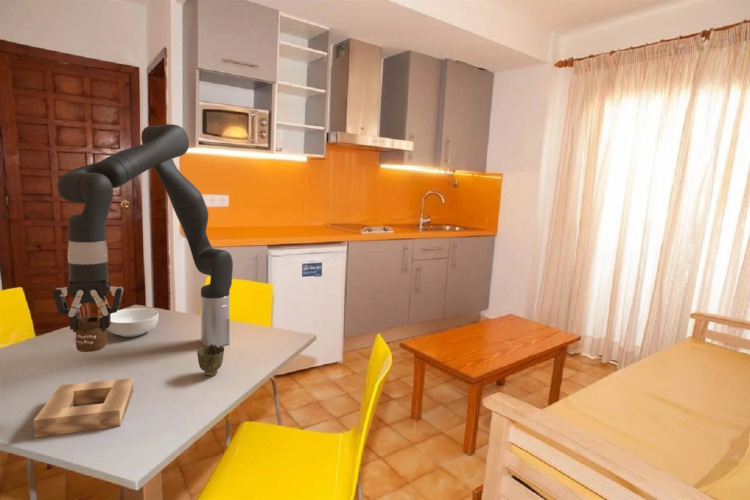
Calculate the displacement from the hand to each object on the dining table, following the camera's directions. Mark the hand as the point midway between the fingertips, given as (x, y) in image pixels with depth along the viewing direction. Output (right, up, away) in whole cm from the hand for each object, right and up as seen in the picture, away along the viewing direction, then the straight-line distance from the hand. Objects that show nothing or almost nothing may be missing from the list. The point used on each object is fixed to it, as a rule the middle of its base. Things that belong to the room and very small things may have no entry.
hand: (90, 330), depth 98 cm
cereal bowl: (-20, -11, +52) cm, 57 cm away
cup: (+19, -18, +24) cm, 36 cm away
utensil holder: (0, -5, +1) cm, 5 cm away
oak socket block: (-2, -20, +2) cm, 20 cm away
